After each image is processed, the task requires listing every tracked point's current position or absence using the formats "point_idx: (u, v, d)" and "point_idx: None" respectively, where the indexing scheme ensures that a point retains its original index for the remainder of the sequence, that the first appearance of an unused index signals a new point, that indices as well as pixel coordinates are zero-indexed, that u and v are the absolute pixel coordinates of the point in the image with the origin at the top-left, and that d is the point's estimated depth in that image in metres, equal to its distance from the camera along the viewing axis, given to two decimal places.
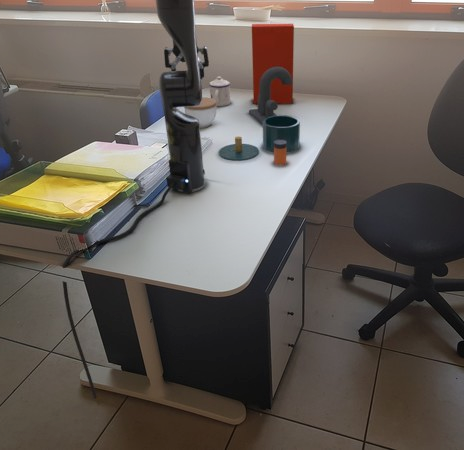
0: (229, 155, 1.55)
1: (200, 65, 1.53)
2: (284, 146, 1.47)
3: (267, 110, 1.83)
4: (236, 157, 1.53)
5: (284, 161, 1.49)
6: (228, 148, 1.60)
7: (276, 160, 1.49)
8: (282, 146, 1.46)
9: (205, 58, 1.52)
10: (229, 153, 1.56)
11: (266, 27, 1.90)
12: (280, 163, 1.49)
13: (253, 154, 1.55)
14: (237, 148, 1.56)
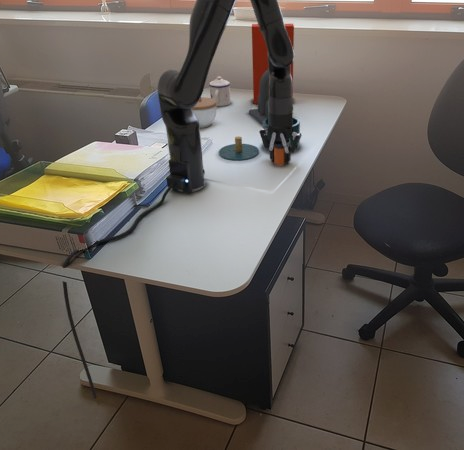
0: (229, 155, 1.55)
1: (285, 149, 1.47)
2: None
3: (267, 110, 1.83)
4: (236, 157, 1.53)
5: (284, 161, 1.49)
6: (228, 148, 1.60)
7: (276, 160, 1.49)
8: (282, 146, 1.46)
9: (294, 144, 1.44)
10: (229, 153, 1.56)
11: None
12: (280, 163, 1.49)
13: (253, 154, 1.55)
14: (237, 148, 1.56)
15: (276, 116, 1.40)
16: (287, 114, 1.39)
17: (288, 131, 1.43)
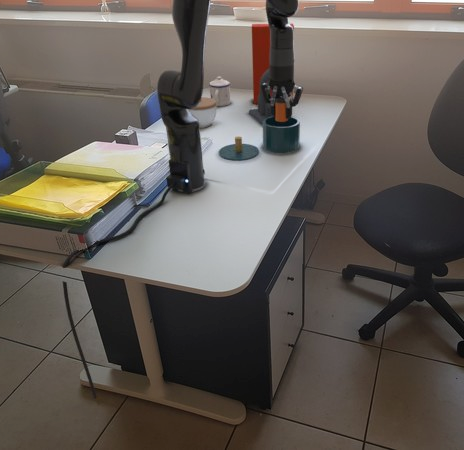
0: (229, 155, 1.55)
1: (287, 104, 1.45)
2: None
3: (267, 110, 1.83)
4: (236, 157, 1.53)
5: (285, 116, 1.48)
6: (228, 148, 1.60)
7: (277, 115, 1.48)
8: (283, 100, 1.45)
9: (295, 98, 1.43)
10: (229, 153, 1.56)
11: (266, 27, 1.90)
12: (281, 118, 1.48)
13: (253, 154, 1.55)
14: (237, 148, 1.56)
15: (277, 68, 1.38)
16: (288, 66, 1.38)
17: (289, 84, 1.42)
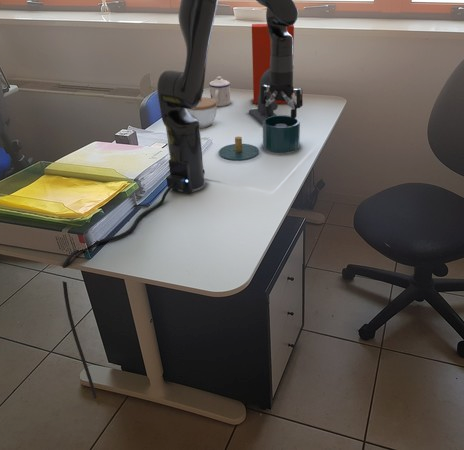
0: (229, 155, 1.55)
1: (292, 106, 1.52)
2: None
3: None
4: (236, 157, 1.53)
5: None
6: (228, 148, 1.60)
7: None
8: None
9: (297, 99, 1.51)
10: (229, 153, 1.56)
11: (266, 27, 1.90)
12: None
13: (253, 154, 1.55)
14: (237, 148, 1.56)
15: (277, 74, 1.47)
16: (288, 72, 1.47)
17: (289, 89, 1.50)
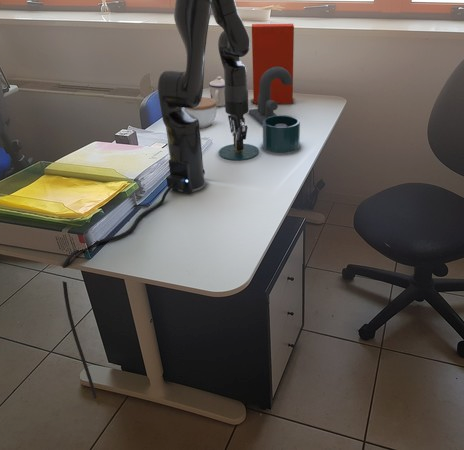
0: (229, 155, 1.55)
1: (236, 136, 1.53)
2: None
3: (267, 110, 1.83)
4: (236, 157, 1.53)
5: None
6: (228, 148, 1.60)
7: None
8: None
9: (238, 133, 1.50)
10: (229, 153, 1.56)
11: (266, 27, 1.90)
12: None
13: (253, 154, 1.55)
14: None
15: (225, 102, 1.48)
16: (233, 102, 1.45)
17: (237, 119, 1.49)
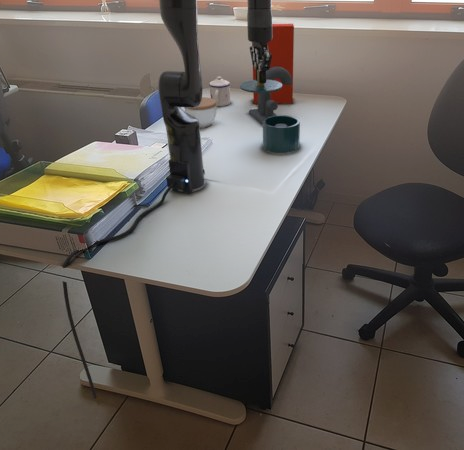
0: (251, 88, 1.46)
1: (258, 67, 1.45)
2: None
3: (267, 110, 1.83)
4: (259, 90, 1.45)
5: None
6: (249, 82, 1.52)
7: None
8: None
9: (262, 62, 1.41)
10: (251, 86, 1.48)
11: None
12: None
13: (276, 87, 1.47)
14: None
15: (248, 28, 1.39)
16: (257, 27, 1.37)
17: (260, 47, 1.40)
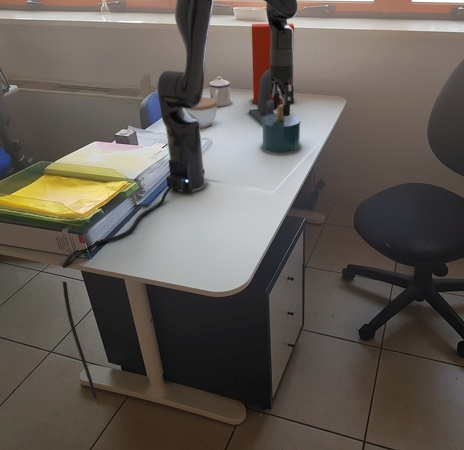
0: (272, 123, 1.55)
1: (283, 101, 1.50)
2: None
3: (267, 110, 1.83)
4: (279, 125, 1.53)
5: None
6: (269, 117, 1.60)
7: None
8: None
9: (285, 95, 1.47)
10: (272, 121, 1.57)
11: (266, 27, 1.90)
12: None
13: (296, 122, 1.55)
14: (280, 116, 1.56)
15: (270, 66, 1.47)
16: (279, 66, 1.45)
17: (282, 84, 1.48)
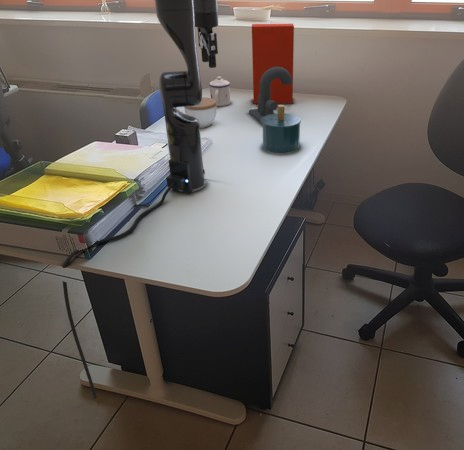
0: (272, 123, 1.55)
1: (207, 51, 1.43)
2: None
3: (267, 110, 1.83)
4: (279, 125, 1.53)
5: None
6: (269, 117, 1.60)
7: None
8: None
9: (208, 44, 1.41)
10: (272, 121, 1.57)
11: (266, 27, 1.90)
12: None
13: (296, 122, 1.55)
14: (280, 116, 1.56)
15: None
16: (201, 12, 1.38)
17: (205, 32, 1.42)
